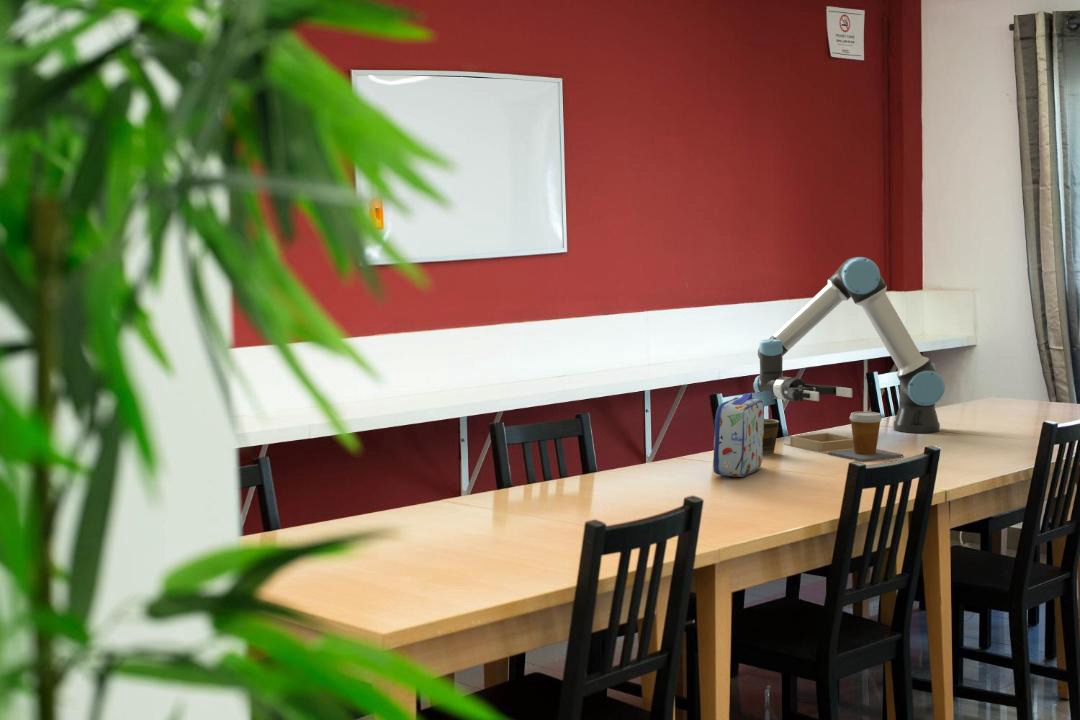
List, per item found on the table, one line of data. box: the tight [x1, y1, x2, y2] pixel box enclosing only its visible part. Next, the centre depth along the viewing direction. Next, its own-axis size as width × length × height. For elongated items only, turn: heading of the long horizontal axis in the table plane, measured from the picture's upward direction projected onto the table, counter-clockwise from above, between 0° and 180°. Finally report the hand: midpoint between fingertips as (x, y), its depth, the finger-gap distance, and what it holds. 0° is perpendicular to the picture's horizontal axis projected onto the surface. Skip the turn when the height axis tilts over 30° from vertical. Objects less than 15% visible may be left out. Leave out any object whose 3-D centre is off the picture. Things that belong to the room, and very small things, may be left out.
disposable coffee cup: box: [849, 411, 883, 455], centre depth 390 cm, size 10×10×12 cm
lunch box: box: [712, 392, 765, 478], centre depth 364 cm, size 28×10×22 cm, turn 158°
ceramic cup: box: [762, 418, 780, 456], centre depth 395 cm, size 13×10×10 cm
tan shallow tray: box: [783, 432, 854, 455], centre depth 407 cm, size 15×21×3 cm
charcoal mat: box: [827, 448, 904, 463], centre depth 390 cm, size 16×15×1 cm
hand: (834, 394), depth 406 cm, fingers open, 13 cm apart
